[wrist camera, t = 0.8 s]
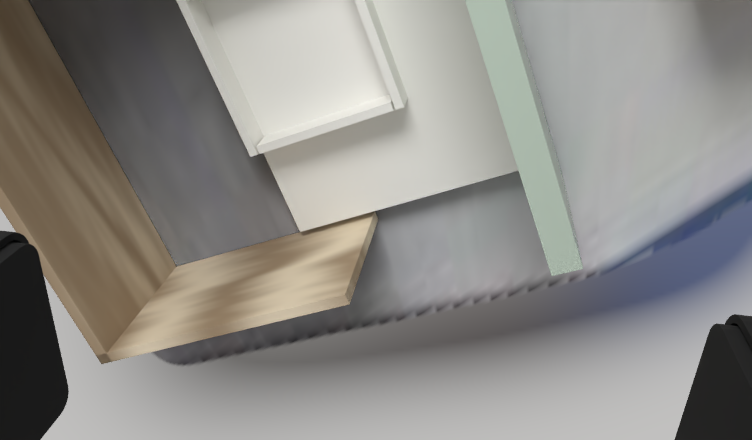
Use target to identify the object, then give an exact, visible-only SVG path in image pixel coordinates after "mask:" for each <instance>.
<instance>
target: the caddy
mask: <svg viewBox="0 0 752 440" xmlns="http://www.w3.org/2000/svg"><path fill="white" fill-rule="evenodd" d="M0 208H1V209H2V211H3V212H4V214H5V215H6V217H7V218H8V220H9V222H10V223H11V224H12V226H13V228H14V229H15V231H16V232H17V233H20V234H22V235H24V236H25V237H26V239H27V240H28V242H29V244H31V245H33V246H34V247H35V248H36V249H37V251H38V254H39V258H40V262H41V267H42V271H43V274H44V276H45V277H46V279H47V280H48V282H49V283H50V285H51V286H52V288H53V290H54V291H55V293H56V294H57V295H58V297H59V299H60V301H61V302H62V304H63V305H64V307H65V308H66V310H67V311H68V313H69V314H70V316H71V317H72V319H73V321H74V322H75V323H76V325H77V327H78V328H79V330H80V331H81V333H82V335H83V336H84V338H85V339H86V341H87V342H88V344H89V345H90V347H91V348H92V350H93V352H94V353H95V354H96V356H97V358H98V359H99V361H100V362H101V364H104V363H108V362H112V361H116V360H120V359H124V358H129V357H133V356H137V355H141V354H145V353H150V352H154V351H158V350H162V349H166V348H170V347H174V346H179V345H183V344H187V343H191V342H195V341H199V340H203V339H208V338H212V337H216V336H220V335H224V334H228V333H233V332H237V331H241V330H245V329H249V328H253V327H257V326H262V325H266V324H270V323H274V322H278V321H282V320H286V319H291V318H295V317H299V316H303V315H307V314H311V313H316V312H320V311H324V310H328V309H332V308H336V307H340V306H345V305H349V304H350V302H351V299H352V296H353V293H354V290H355V287H356V284H357V281H358V278H359V275H360V272H361V269H362V266H363V263H364V260H365V257H366V254H367V251H368V248H369V245H370V242H371V239H372V236H373V233H374V231H375V228H376V225H377V222H378V217H377V215H376V212H375V211H373V212H370V213H366V214H363V215H359V216H356V217H352V218H348V219H345V220H341V221H338V222H334V223H331V224H327V225H324V226H320V227H316V228H313V229H309V230H306V231H302V232H298V233H295V234H291V235H287V236H284V237H280V238H277V239H273V240H270V241H266V242H262V243H259V244H255V245H252V246H248V247H245V248H241V249H238V250H234V251H230V252H227V253H223V254H220V255H216V256H213V257H209V258H206V259H202V260H198V261H195V262H191V263H188V264H184V265H181V266H177V267H176V265H175V263H174V261H173V260H172V258H171V256H170V254H169V252H168V251H167V249H166V247H165V245H164V243H163V242H162V240H161V238H160V236H159V234H158V233H157V231H156V229H155V227H154V225H153V224H152V222H151V220H150V218H149V217H148V215H147V213H146V211H145V209H144V208H143V206H142V204H141V202H140V200H139V199H138V197H137V195H136V193H135V191H134V190H133V188H132V186H131V184H130V182H129V181H128V179H127V177H126V175H125V173H124V172H123V170H122V168H121V166H120V164H119V163H118V161H117V159H116V157H115V155H114V154H113V152H112V150H111V148H110V146H109V145H108V143H107V141H106V139H105V137H104V136H103V134H102V132H101V130H100V128H99V127H98V125H97V123H96V121H95V120H94V118H93V116H92V114H91V112H90V111H89V109H88V107H87V105H86V103H85V102H84V100H83V98H82V96H81V94H80V93H79V91H78V89H77V87H76V85H75V84H74V82H73V80H72V78H71V76H70V75H69V73H68V71H67V69H66V67H65V66H64V64H63V62H62V60H61V58H60V57H59V55H58V53H57V51H56V49H55V48H54V46H53V44H52V42H51V40H50V39H49V37H48V35H47V33H46V31H45V30H44V28H43V26H42V24H41V22H40V21H39V19H38V17H37V15H36V14H35V12H34V10H33V8H32V6H31V5H30V3H29V1H28V0H0Z"/></svg>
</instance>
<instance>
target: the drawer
mask: <svg viewBox="0 0 752 440" xmlns="http://www.w3.org/2000/svg"><path fill="white" fill-rule="evenodd" d="M176 1H177V3H178V5H179V7H180V9H181V12H182V14H183V16H184V18H185V20H186V22H187V24H188V26H189V28H190V31H191V33H192V35H193V37H194V39H195V41H196V43H197V45H198V47H199V49H200V52H201V54H202V56H203V58H204V60H205V62H206V64H207V66H208V68H209V71H210V73H211V75H212V77H213V79H214V81H215V83H216V85H217V87H218V90H219V92H220V94H221V96H222V98H223V100H224V102H225V104H226V106H227V109H228V111H229V113H230V115H231V117H232V119H233V121H234V123H235V125H236V127H237V130H238V132H239V134H240V136H241V138H242V140H243V142H244V144H245V146H246V149H247V151H248V153H249V155H250V157H252V156H255V155H258V154H261V153H264V155H265V158H266V160H267V162H268V164H269V166H270V168H271V170H272V173H273V175H274V177H275V179H276V181H277V183H278V185H279V188H280V190H281V192H282V194H283V196H284V198H285V201H286V203H287V205H288V207H289V209H290V211H291V213H292V216H293V218H294V220H295V222H296V224H297V226H298V228H299V231H300V232H302V231H306V230H309V229H313V228H316V227H320V226H324V225H327V224H331V223H334V222H338V221H341V220H345V219H348V218H352V217H356V216H359V215H363V214H366V213H370V212H373V211H377V210H380V209H384V208H388V207H391V206H395V205H398V204H402V203H405V202H409V201H413V200H416V199H420V198H423V197H427V196H430V195H434V194H437V193H441V192H445V191H448V190H452V189H455V188H459V187H462V186H466V185H470V184H473V183H477V182H480V181H484V180H487V179H491V178H494V177H498V176H502V175H505V174H509V173H512V172H516V171H519V174H520V177H521V180H522V183H523V186H524V190H525V193H526V196H527V199H528V202H529V206H530V209H531V212H532V215H533V218H534V222H535V225H536V228H537V231H538V234H539V237H540V241H541V244H542V247H543V250H544V253H545V257H546V260H547V263H548V266H549V269H550V273H551V276H554V275H558V274H562V273H567V272H571V271H575V270H580V269H583V266H582V261H581V257H580V252H579V248H578V243H577V238H576V234H575V229H574V225H573V220H572V216H571V211H570V206H569V202H568V197H567V193H566V188H565V184H564V180H563V177H562V173H561V170H560V166H559V163H558V159H557V156H556V152H555V149H554V145H553V142H552V138H551V135H550V132H549V128H548V125H547V121H546V118H545V114H544V111H543V107H542V104H541V100H540V97H539V93H538V90H537V86H536V83H535V79H534V76H533V72H532V69H531V66H530V62H529V59H528V55H527V52H526V48H525V45H524V41H523V38H522V34H521V31H520V27H519V24H518V20H517V17H516V13H515V10H514V6H513V3H512V0H176Z"/></svg>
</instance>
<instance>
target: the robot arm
mask: <svg viewBox="0 0 752 440" xmlns="http://www.w3.org/2000/svg"><path fill="white" fill-rule="evenodd" d="M67 398H68V384H67V379H66V375H65V370H64V366H63V361H62V357H61V352H60V348H59V343H58V339H57V334H56V330H55V325H54V321H53V316H52V312H51V307H50V303H49V298H48V294H47V290H46V285H45V280H44V277H43V271H42V267H41V262H40V258H39V254H38V251H37V249H36V248H35V247H34V246H33V245H31V244H29V242H28V240H27V239H26V237H25V236H24V235H22V234H20V233H16V232H7V231H0V440H40V439H41V438H42V437H43V435H44V434H45V433H46V432H47V430H48V429H49V428H50V427H51V425H52V424H53V423H54V422H55V421H56V419H57V418H58V417H59V416H60V414H61V413H62V411H63V409H64V407H65V405H66V402H67ZM675 440H752V316H744V315H732V316H730V317H729V319H728V320H727V321H726V323H725V325H724V324H715V325H713V326H712V328H711V329H710V332H709V335H708V337H707V340H706V344H705V347H704V350H703V353H702V356H701V359H700V362H699V365H698V368H697V372H696V375H695V378H694V381H693V384H692V387H691V390H690V394H689V397H688V400H687V403H686V406H685V409H684V412H683V415H682V419H681V422H680V425H679V428H678V431H677V434H676V437H675Z"/></svg>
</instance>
